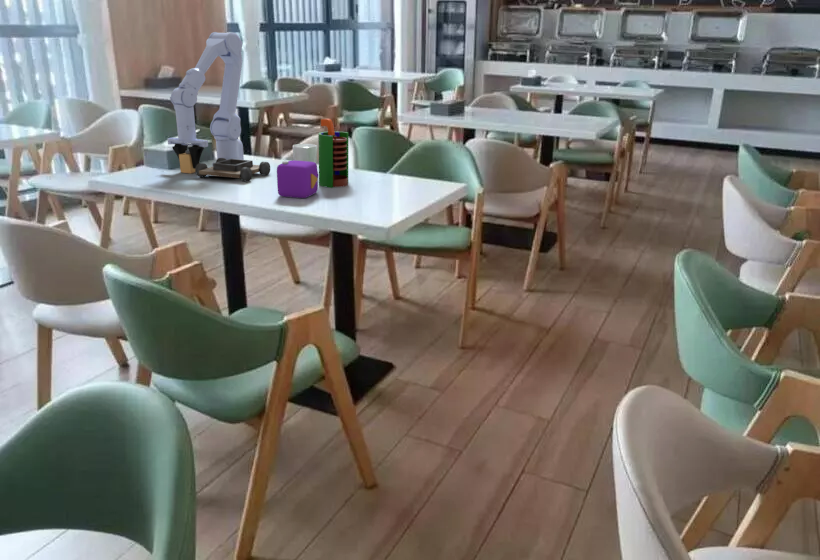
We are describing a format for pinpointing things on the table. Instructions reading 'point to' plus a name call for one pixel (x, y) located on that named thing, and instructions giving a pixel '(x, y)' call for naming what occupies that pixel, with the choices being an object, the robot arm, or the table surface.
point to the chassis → (233, 169)
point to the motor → (333, 156)
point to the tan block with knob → (186, 162)
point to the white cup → (305, 152)
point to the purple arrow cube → (297, 179)
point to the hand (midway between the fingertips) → (190, 167)
